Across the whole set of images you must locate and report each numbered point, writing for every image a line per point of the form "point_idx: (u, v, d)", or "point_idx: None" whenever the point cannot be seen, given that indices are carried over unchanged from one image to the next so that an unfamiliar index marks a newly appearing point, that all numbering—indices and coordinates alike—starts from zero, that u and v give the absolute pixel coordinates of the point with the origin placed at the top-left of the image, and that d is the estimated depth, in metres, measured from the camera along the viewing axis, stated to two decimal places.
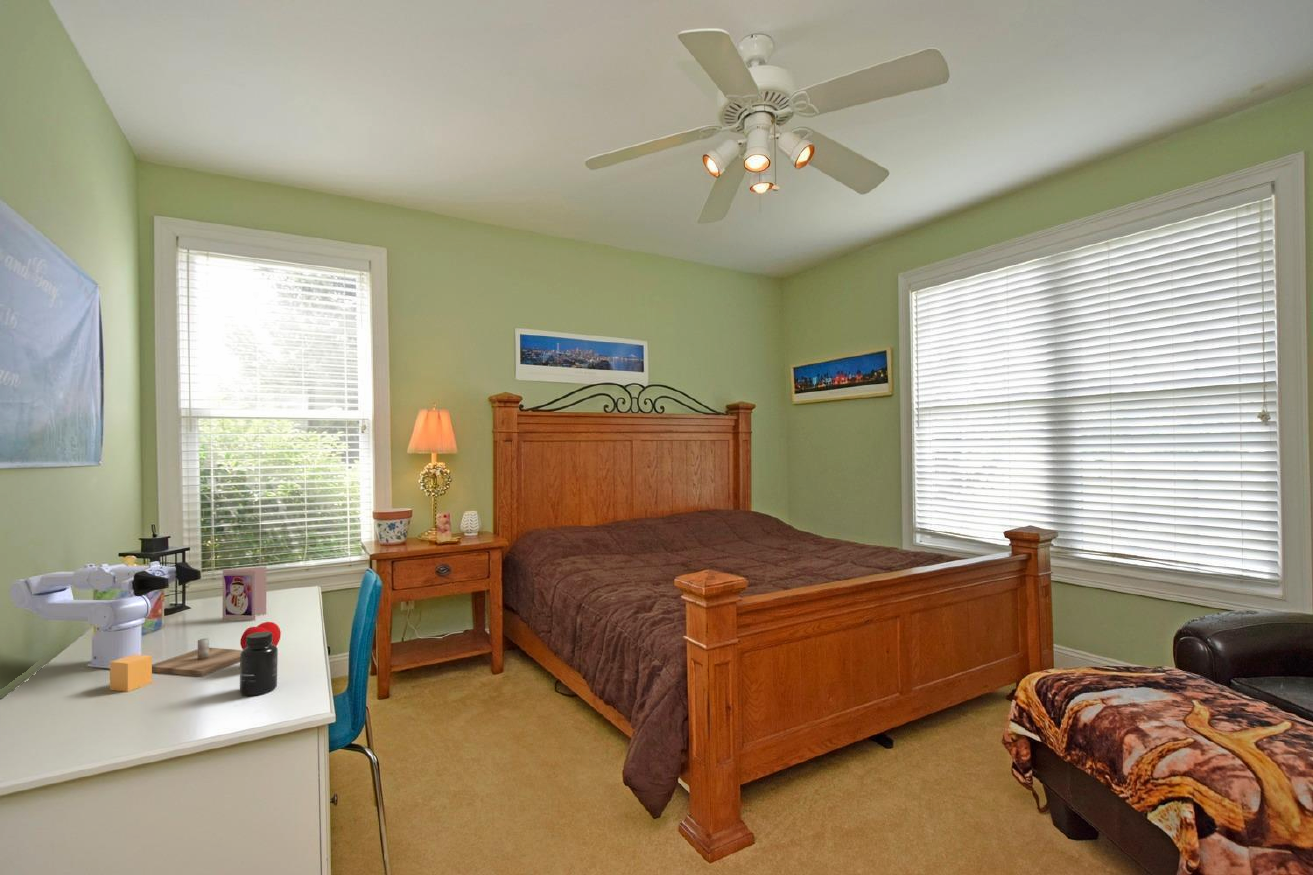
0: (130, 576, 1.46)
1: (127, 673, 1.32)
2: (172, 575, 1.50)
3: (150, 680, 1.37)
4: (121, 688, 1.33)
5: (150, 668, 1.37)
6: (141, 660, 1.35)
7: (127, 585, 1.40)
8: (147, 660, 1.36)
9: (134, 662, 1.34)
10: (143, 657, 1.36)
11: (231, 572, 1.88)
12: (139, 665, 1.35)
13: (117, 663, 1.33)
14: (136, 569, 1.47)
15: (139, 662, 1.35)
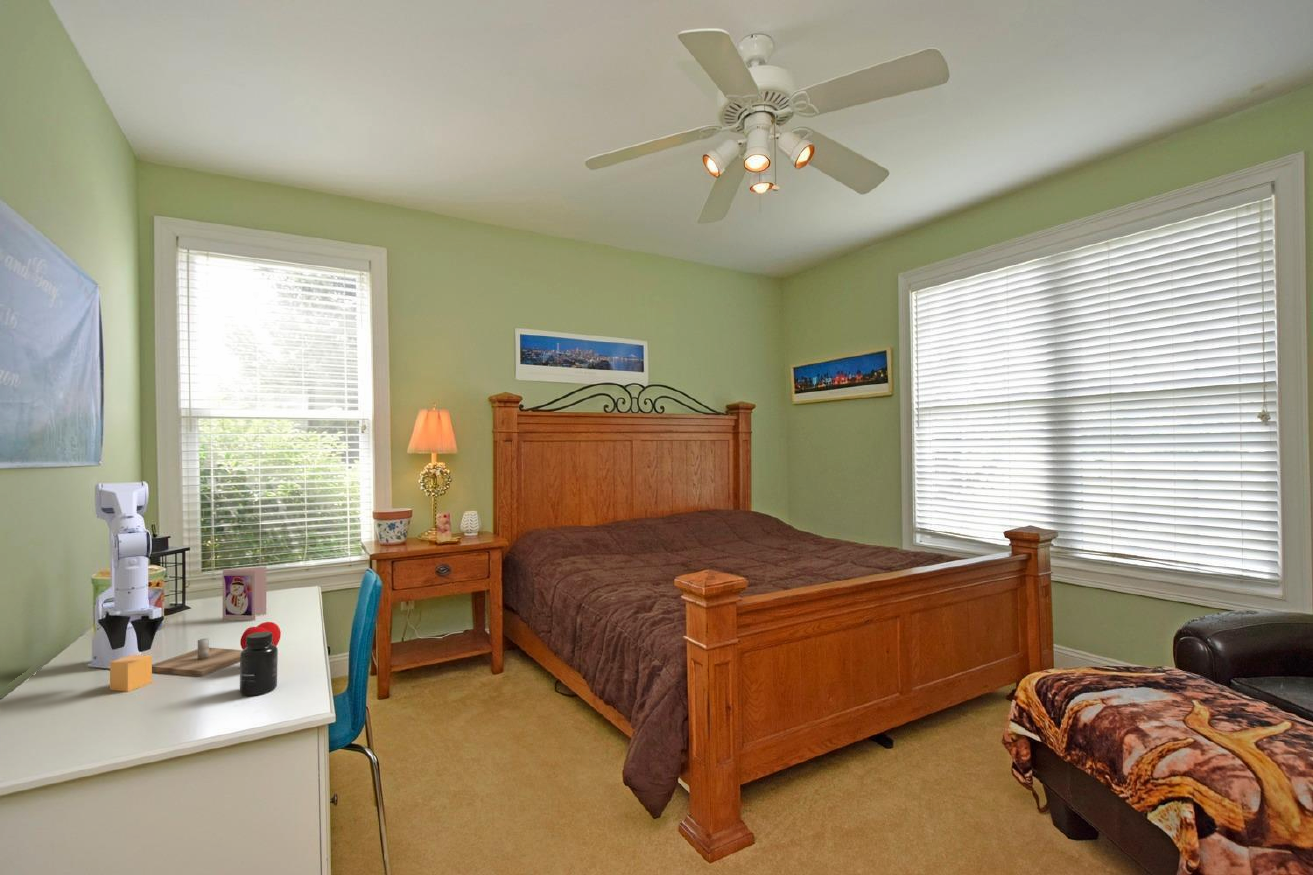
0: None
1: (127, 673, 1.32)
2: None
3: (150, 680, 1.37)
4: (121, 688, 1.33)
5: (150, 668, 1.37)
6: (141, 660, 1.35)
7: None
8: (147, 660, 1.36)
9: (134, 662, 1.34)
10: (143, 657, 1.36)
11: (231, 572, 1.88)
12: (139, 665, 1.35)
13: (117, 663, 1.33)
14: (114, 594, 1.33)
15: (139, 662, 1.35)
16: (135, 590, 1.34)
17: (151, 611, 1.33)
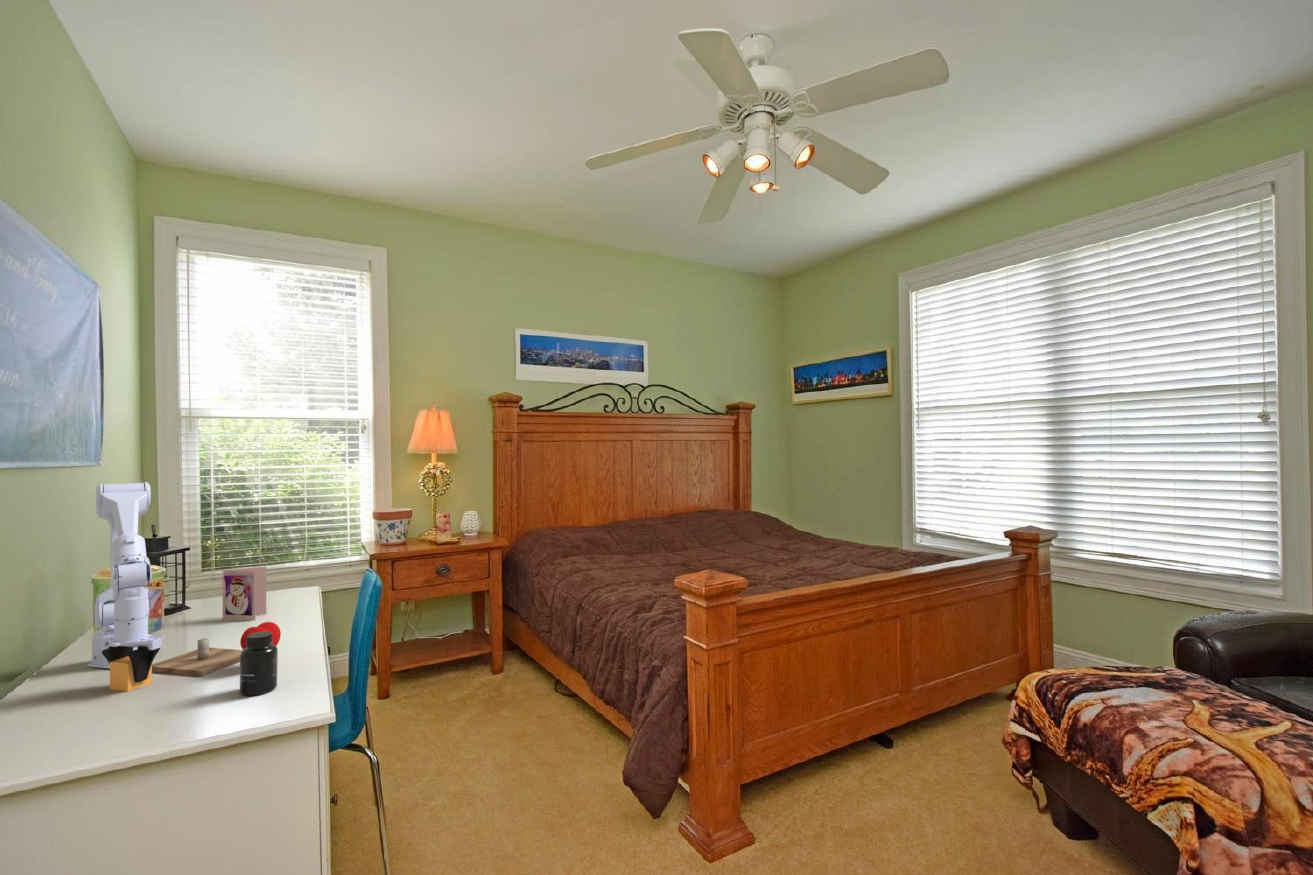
0: None
1: (127, 673, 1.32)
2: None
3: (150, 680, 1.37)
4: (121, 688, 1.33)
5: (150, 668, 1.37)
6: None
7: None
8: None
9: None
10: None
11: (231, 572, 1.88)
12: None
13: (117, 663, 1.33)
14: (114, 625, 1.33)
15: None
16: (135, 621, 1.34)
17: (151, 642, 1.33)
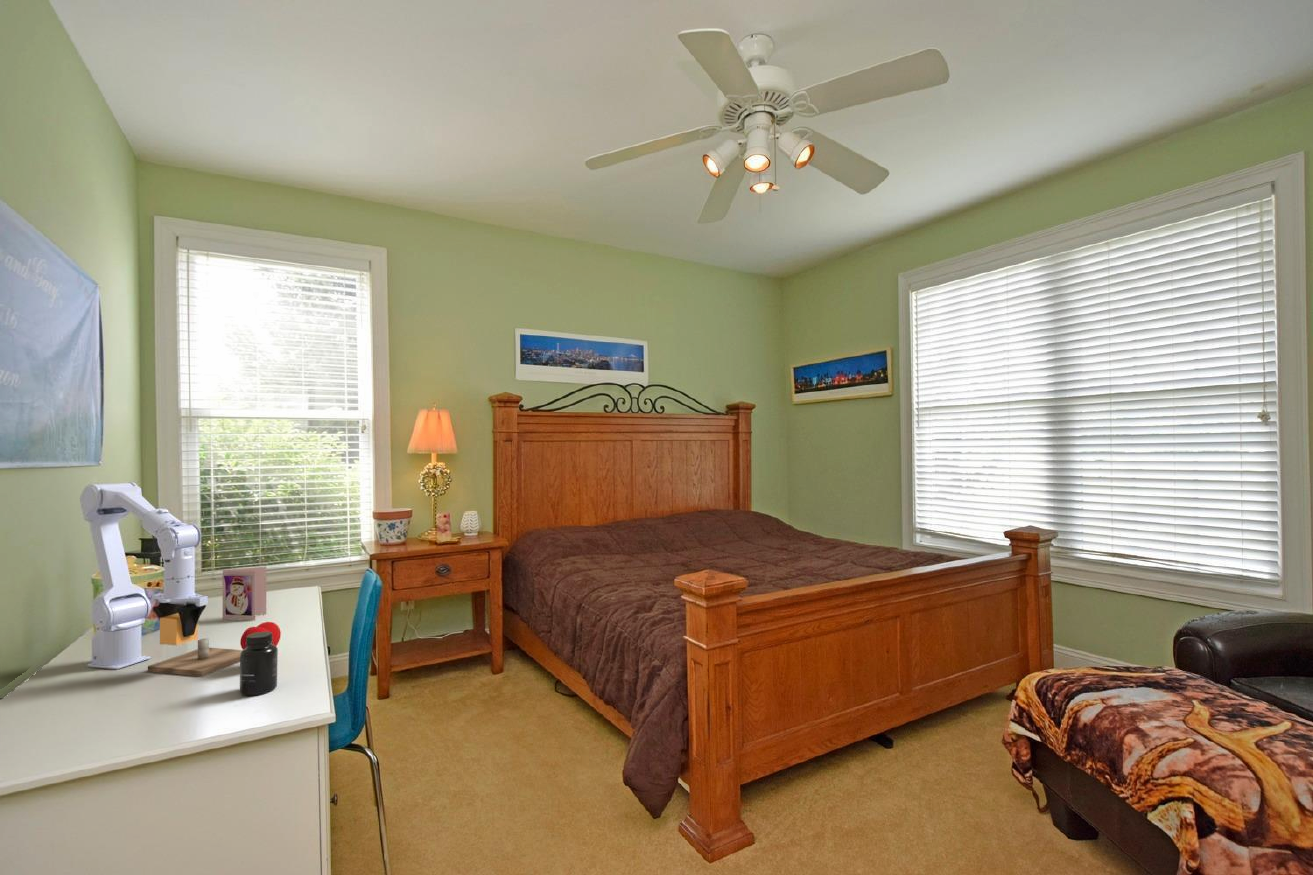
0: None
1: (176, 628, 1.41)
2: None
3: (196, 636, 1.46)
4: (170, 642, 1.42)
5: None
6: None
7: None
8: None
9: None
10: None
11: (231, 572, 1.88)
12: None
13: (166, 619, 1.42)
14: (164, 583, 1.43)
15: None
16: (183, 579, 1.43)
17: (198, 599, 1.42)
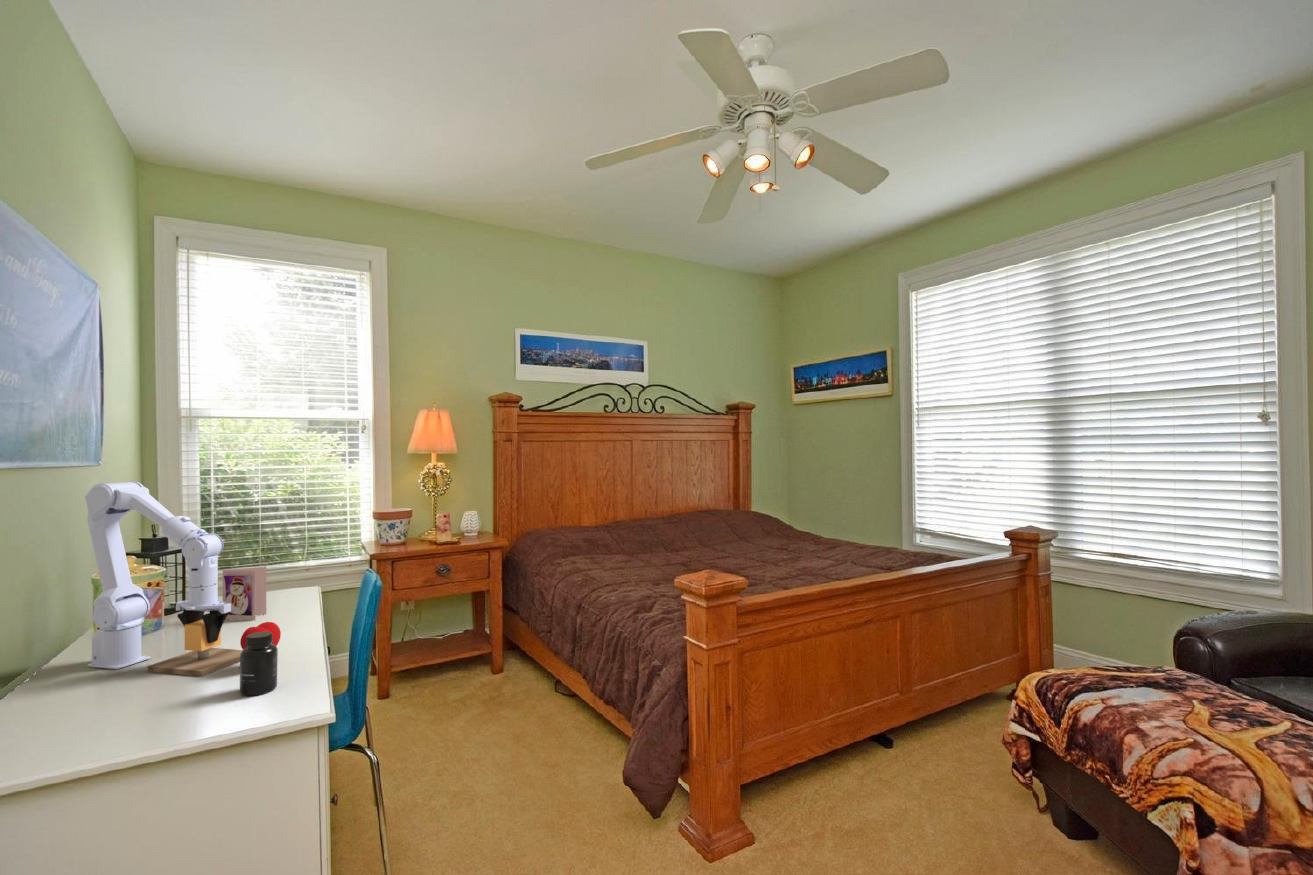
0: None
1: (200, 634, 1.46)
2: None
3: (219, 642, 1.51)
4: (195, 648, 1.47)
5: (220, 631, 1.51)
6: None
7: None
8: None
9: None
10: None
11: (231, 572, 1.88)
12: None
13: (191, 626, 1.47)
14: None
15: None
16: (207, 587, 1.48)
17: (222, 606, 1.47)
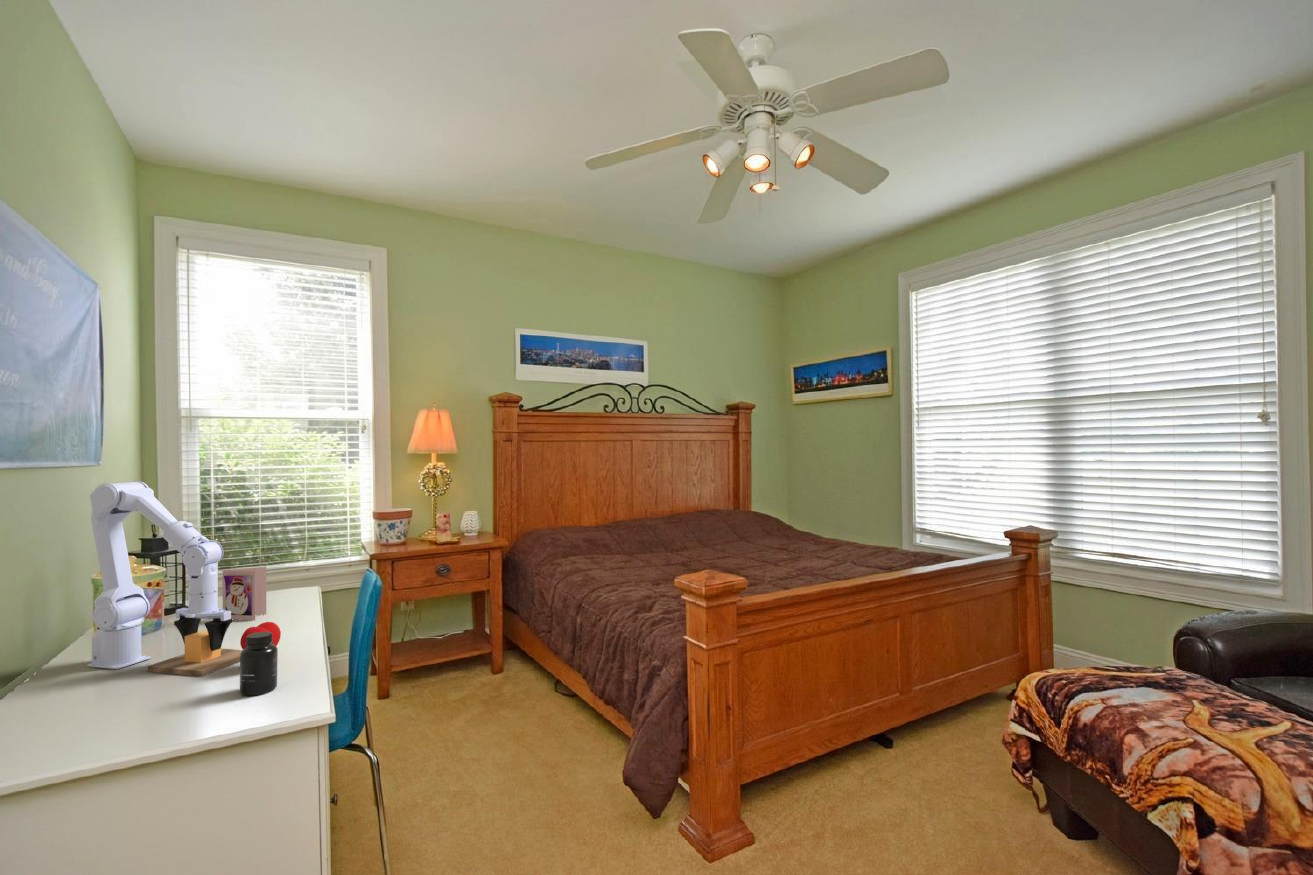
0: None
1: (200, 646, 1.46)
2: None
3: (219, 653, 1.51)
4: (194, 660, 1.47)
5: None
6: None
7: None
8: None
9: (206, 636, 1.48)
10: None
11: (231, 572, 1.88)
12: None
13: (191, 637, 1.47)
14: None
15: None
16: (207, 595, 1.48)
17: (222, 614, 1.47)
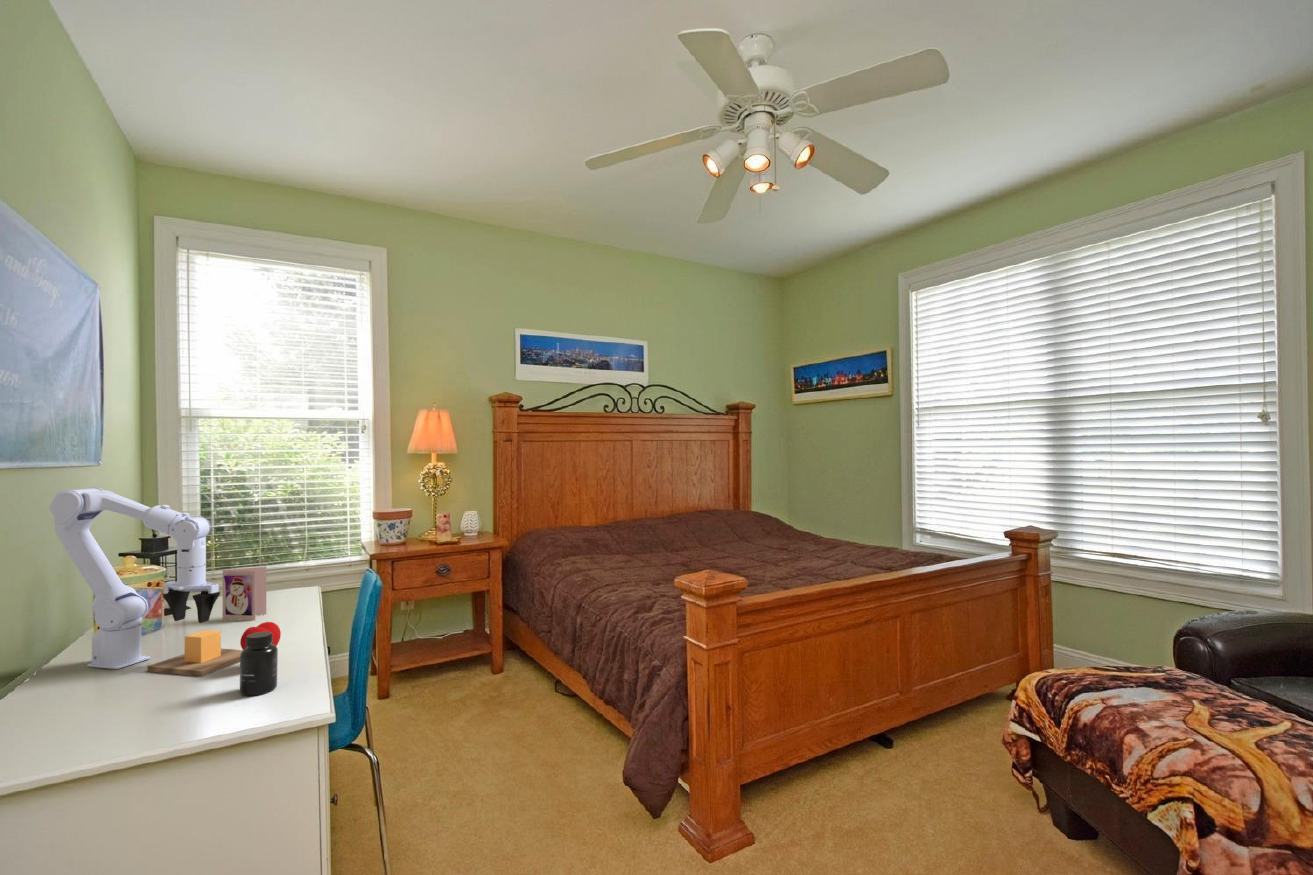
0: None
1: (200, 646, 1.46)
2: (201, 591, 1.52)
3: (219, 653, 1.51)
4: (194, 660, 1.47)
5: (219, 643, 1.51)
6: (212, 635, 1.49)
7: None
8: (217, 635, 1.50)
9: (206, 636, 1.48)
10: (213, 632, 1.50)
11: (231, 572, 1.88)
12: (210, 639, 1.49)
13: (191, 637, 1.47)
14: (177, 571, 1.51)
15: (210, 636, 1.49)
16: (195, 568, 1.51)
17: (210, 587, 1.50)
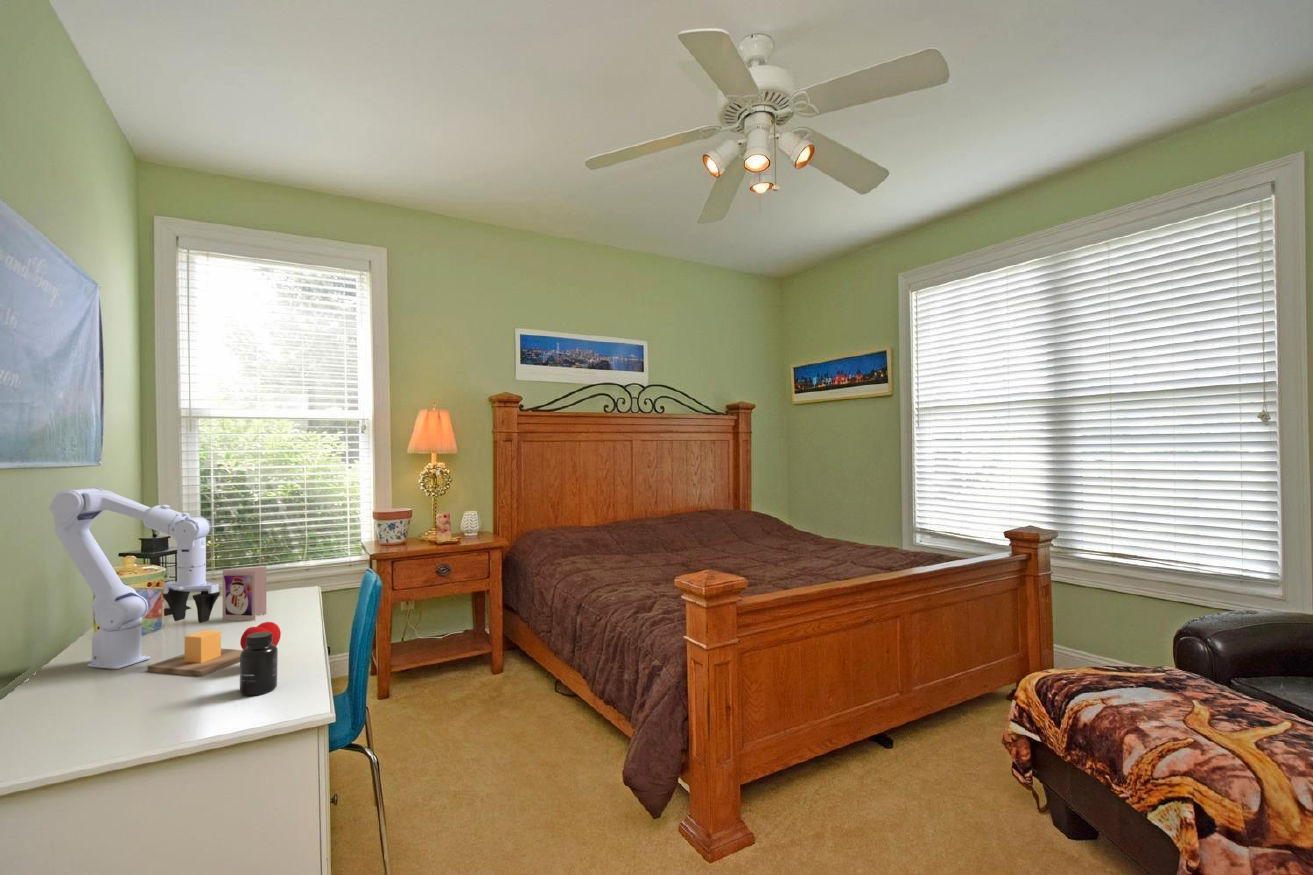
0: None
1: (200, 646, 1.46)
2: (201, 591, 1.52)
3: (219, 653, 1.51)
4: (194, 660, 1.47)
5: (219, 643, 1.51)
6: (212, 635, 1.49)
7: None
8: (217, 635, 1.50)
9: (206, 636, 1.48)
10: (213, 632, 1.50)
11: (231, 572, 1.88)
12: (210, 639, 1.49)
13: (191, 637, 1.47)
14: (177, 571, 1.51)
15: (210, 636, 1.49)
16: (195, 568, 1.51)
17: (210, 587, 1.50)
